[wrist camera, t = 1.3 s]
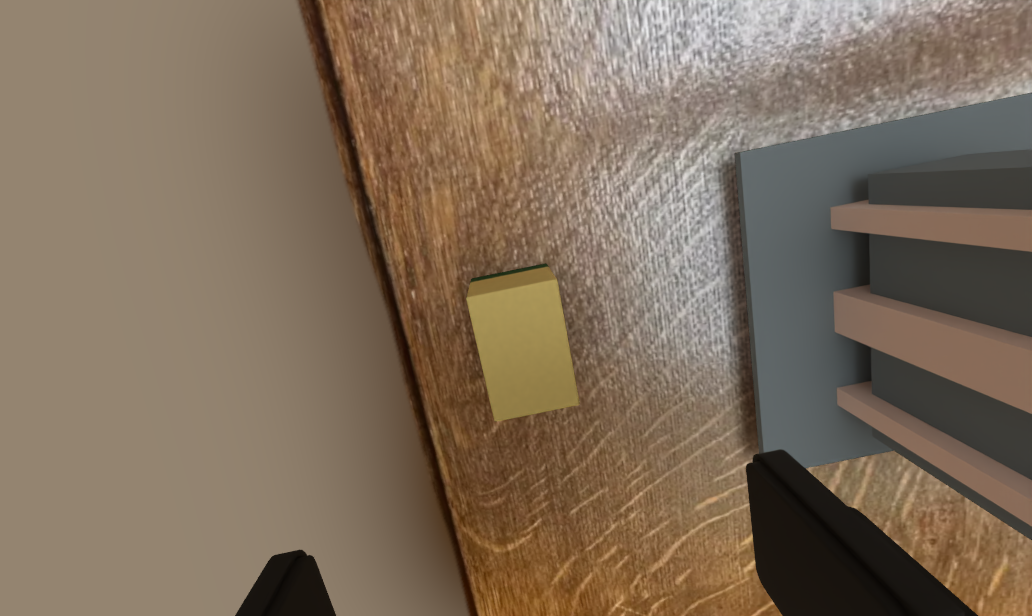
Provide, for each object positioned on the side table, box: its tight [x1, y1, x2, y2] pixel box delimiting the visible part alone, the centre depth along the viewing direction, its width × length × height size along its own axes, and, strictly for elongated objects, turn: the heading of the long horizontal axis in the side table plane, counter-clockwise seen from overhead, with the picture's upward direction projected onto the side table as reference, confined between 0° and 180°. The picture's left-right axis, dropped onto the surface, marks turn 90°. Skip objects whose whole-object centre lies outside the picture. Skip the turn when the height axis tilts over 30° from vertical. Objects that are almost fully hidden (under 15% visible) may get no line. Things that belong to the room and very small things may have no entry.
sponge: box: [466, 264, 580, 422], centre depth 23 cm, size 6×4×4 cm, turn 11°
